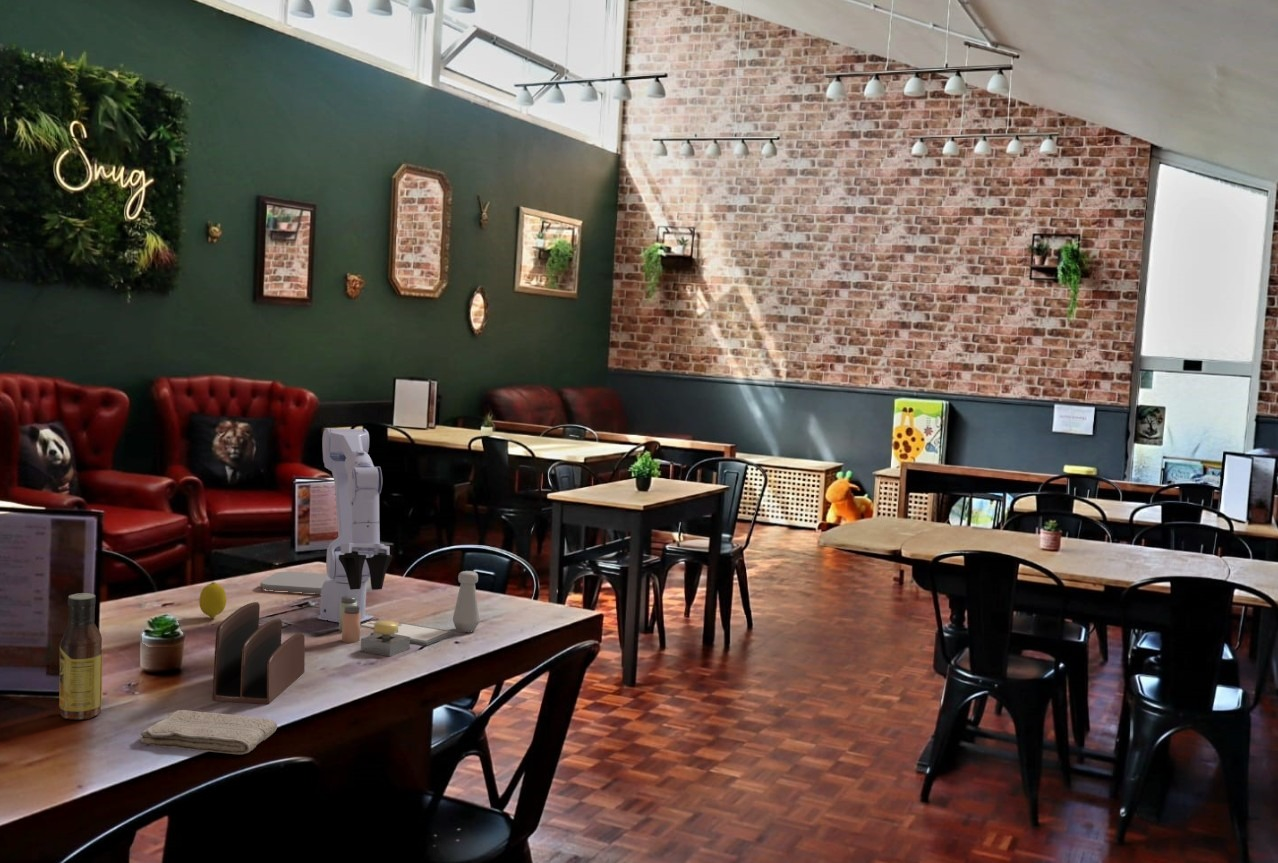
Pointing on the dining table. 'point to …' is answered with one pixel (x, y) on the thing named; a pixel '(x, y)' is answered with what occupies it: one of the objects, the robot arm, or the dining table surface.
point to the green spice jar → (343, 603)
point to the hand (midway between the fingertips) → (366, 589)
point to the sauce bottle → (80, 661)
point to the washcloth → (209, 732)
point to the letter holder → (254, 658)
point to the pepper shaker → (351, 624)
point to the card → (369, 624)
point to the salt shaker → (466, 603)
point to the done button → (386, 628)
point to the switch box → (385, 644)
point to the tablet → (299, 582)
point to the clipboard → (422, 633)
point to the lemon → (212, 600)
